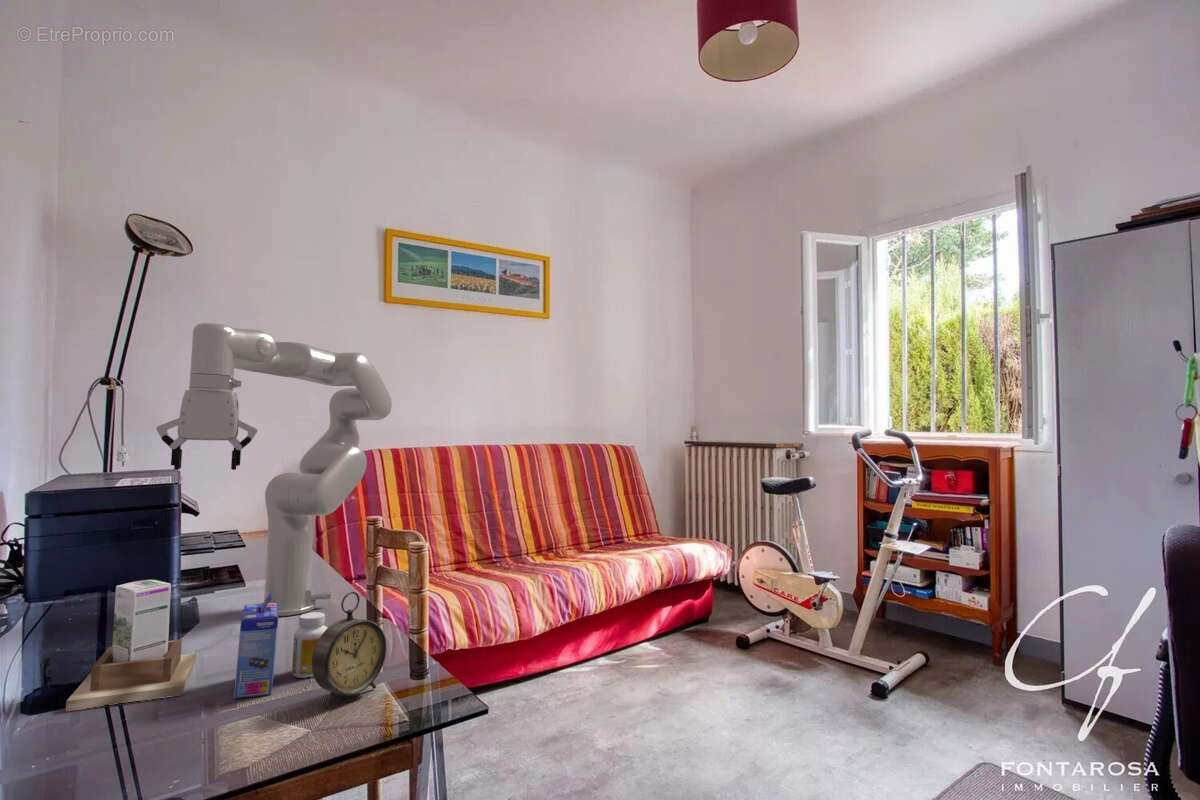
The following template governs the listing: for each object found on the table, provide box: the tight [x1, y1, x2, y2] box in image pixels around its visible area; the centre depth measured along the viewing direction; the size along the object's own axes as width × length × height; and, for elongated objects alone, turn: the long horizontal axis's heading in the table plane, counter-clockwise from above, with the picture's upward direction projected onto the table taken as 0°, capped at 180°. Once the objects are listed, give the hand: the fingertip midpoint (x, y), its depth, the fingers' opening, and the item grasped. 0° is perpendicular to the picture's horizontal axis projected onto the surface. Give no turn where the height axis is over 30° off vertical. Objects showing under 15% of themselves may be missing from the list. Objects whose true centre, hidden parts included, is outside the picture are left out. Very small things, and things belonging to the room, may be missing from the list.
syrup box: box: [111, 579, 172, 663], centre depth 100 cm, size 6×6×14 cm
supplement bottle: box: [291, 611, 328, 679], centre depth 106 cm, size 5×5×10 cm
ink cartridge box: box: [233, 592, 279, 699], centre depth 100 cm, size 10×6×14 cm, turn 28°
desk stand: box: [65, 639, 198, 712], centre depth 100 cm, size 14×16×5 cm
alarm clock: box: [312, 591, 387, 709], centre depth 97 cm, size 11×5×16 cm, turn 148°
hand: (206, 469), depth 125 cm, fingers open, 9 cm apart
